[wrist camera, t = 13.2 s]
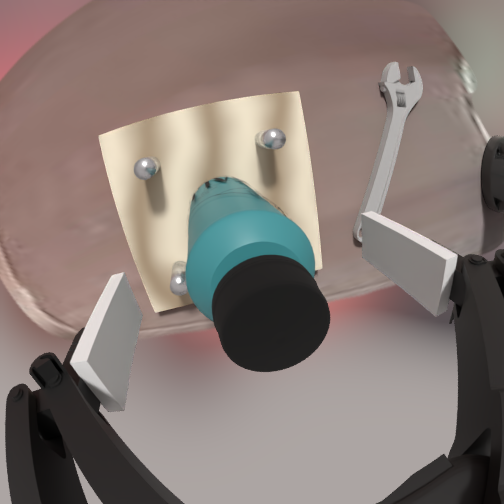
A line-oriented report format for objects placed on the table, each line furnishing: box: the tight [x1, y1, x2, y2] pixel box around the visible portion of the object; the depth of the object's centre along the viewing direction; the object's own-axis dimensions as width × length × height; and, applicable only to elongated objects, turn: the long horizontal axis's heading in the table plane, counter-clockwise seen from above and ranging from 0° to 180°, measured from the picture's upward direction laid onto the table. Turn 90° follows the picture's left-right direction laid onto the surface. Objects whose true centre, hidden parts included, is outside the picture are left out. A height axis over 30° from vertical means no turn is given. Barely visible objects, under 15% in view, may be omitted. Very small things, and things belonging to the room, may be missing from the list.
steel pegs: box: [134, 129, 286, 296], centre depth 25 cm, size 13×13×4 cm
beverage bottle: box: [185, 175, 330, 372], centre depth 18 cm, size 6×7×20 cm
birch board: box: [99, 91, 322, 313], centre depth 28 cm, size 20×20×2 cm
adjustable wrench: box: [353, 62, 423, 242], centre depth 29 cm, size 25×6×2 cm, turn 160°
